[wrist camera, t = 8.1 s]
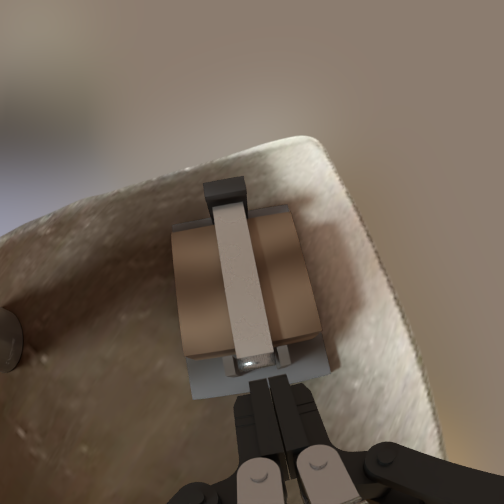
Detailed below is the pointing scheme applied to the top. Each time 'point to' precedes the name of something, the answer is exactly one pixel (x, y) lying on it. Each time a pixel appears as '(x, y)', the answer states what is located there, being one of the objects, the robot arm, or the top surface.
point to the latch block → (273, 292)
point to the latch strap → (242, 289)
